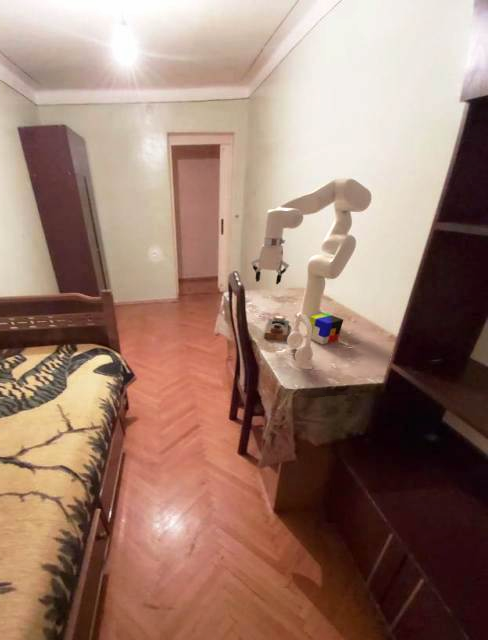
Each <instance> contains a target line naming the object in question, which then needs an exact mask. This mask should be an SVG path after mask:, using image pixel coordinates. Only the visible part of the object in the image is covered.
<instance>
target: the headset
mask: <svg viewBox="0 0 488 640" xmlns="http://www.w3.org/2000/svg"><path fill="white" fill-rule="evenodd" d="M301 322H302V323H303V325H304V326H305V327H306V335H307V336H306V335H305V345H303V343H304V335H303V334H302V332H301V331H300V330H301V329H300V328H299V327H300V324H301ZM311 335H312V327H311V322H310V320H309V319H308V317H307V316H306V315H304V314H301V315H298V317H297V316H296V320H295V323H294V326H293V328H292V329H291V332H290V334H289V335H288V336H287V338H286V343H287V346H288V347H289V348H290V349H292V350H296V351H295V354H294V359H295V361H296V362H297V363H298V367H300V368H302V369H307V370H312V369H313V366H312V365H309V362H311V360H312V358H313V357H314V352H313V349H312V347H311V343H312V339H311ZM302 345H303V346H302Z"/></svg>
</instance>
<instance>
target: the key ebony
mask: <svg viewBox="0 0 488 640" xmlns="http://www.w3.org/2000/svg"><path fill="white" fill-rule="evenodd" d="M280 327H281V324H279V323H275V325H274V328H280Z"/></svg>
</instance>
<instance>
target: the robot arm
mask: <svg viewBox="0 0 488 640" xmlns="http://www.w3.org/2000/svg"><path fill="white" fill-rule="evenodd" d="M371 202H372V193H371V191H370V190H369V189H368V188H367V187H365V186H364V185H363V184H361V183H360V182H358V181H357V180H356V179H353V178H333V179H331V180H329V181H328V182H325V183H324V184H322V185H321V186H320V187H318V188H316V189H315V190H313V191H311V192H309V193H305V194H303V195H301V196H298V197H295V198H293V199H290V200H288V201H286V202H285V203H283V204H281V205H280V206H278V207H277V208H276V209H274V208H273V209H269V210H268V211H267V213H266V221H265V231H264V239H263V244H262V245H261V249H260V252H259V257H258V258H257V259H255V260H252V261H251V266H252V269H253V270H254V272H255V282H256V283H258V282H260V280H261V270H267V271H275V272H276V273H277V275H276V281H275V284H276V285H279V284H280V283H281V281H282V276H283V274H284V273H285V272H286V271H287V270H288V269H289V267H290V265H289V263H287V262H286V261H284V245H283V244H285V243H286V240H285V239H283V236H284V235H283V234H284V229H291V230H292V229H294V230H295V229H297V228H298V227H300V226H301V224H302V223H303V221H304V216H308V215H313V214H317V213H319V212H321V211H322V210H324V209H325V208H327V207H328V206H330V205H332V204H333V208H334V219H333V222H332V224H331V226H330V229H329V230H328V232H327V234H326V235H325V237H324V239H323V241H322V243H321V246H320V247H321V248H320V249H321V251H322V252H323V253H324V254H315V255H313V256H312V257H310V259H309V260H308V262H307V267H306V272H307V273H306V274H307V275H306V282H305V287H304V292H303V296H302V297H303V298H302V301H301V302H302V303H301V306H300V311H299V312H298V313H296V318H297V317H298V315H301V314H304V315H306V316H307V317H308V319H309V320H310V317H311V316H315V315H320V314H325V313H327V314H329V312H326V311H324V310H321V306H322V302H323V301H322V300H323V297H324V292H325V289H326V279H329V280H335V279H337V278H338V277H340V275H341V274H342V273H343V271H344V269H345V268H346V267H347V264H348V262H349V260H350V259H351V258H352V256H353V254H354V252H355V249H356V246H357V239H356V237H355V236H354V235H352V234H349V231H350V230H351V228H352V225H353V218H352V214H351V212H354V213H361V212H364V211H365V210H367V209H368V208H369V206H370V204H371ZM325 254H326V255H325ZM330 255H331V256H330ZM282 267H283V269H282Z"/></svg>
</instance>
